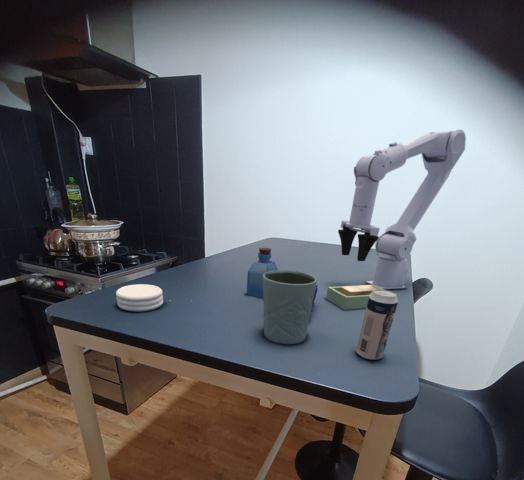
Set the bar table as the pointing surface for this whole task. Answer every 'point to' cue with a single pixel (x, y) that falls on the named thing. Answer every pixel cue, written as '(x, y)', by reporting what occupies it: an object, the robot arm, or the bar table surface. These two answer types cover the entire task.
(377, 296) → the beer can
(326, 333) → the bar table surface
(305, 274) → the green embossed cup
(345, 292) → the eraser
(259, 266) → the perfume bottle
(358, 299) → the eraser holder
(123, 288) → the coaster
